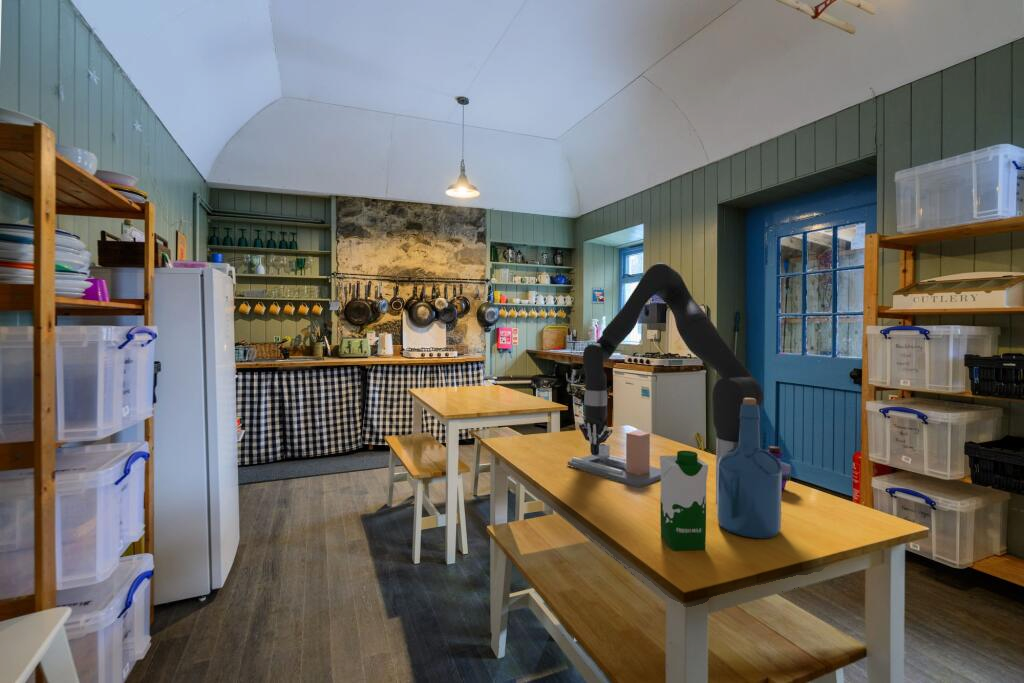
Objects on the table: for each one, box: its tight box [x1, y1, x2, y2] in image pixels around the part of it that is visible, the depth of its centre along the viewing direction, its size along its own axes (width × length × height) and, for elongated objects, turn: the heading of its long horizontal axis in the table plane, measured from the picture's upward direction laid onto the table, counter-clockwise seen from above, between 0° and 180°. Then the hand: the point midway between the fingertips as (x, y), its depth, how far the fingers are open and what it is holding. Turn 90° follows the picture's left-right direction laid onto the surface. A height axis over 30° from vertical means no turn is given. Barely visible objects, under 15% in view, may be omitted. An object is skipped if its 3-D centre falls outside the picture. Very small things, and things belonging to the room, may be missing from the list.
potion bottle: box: [765, 445, 792, 490], centre depth 137 cm, size 9×9×12 cm
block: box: [625, 430, 651, 475], centre depth 148 cm, size 5×5×12 cm
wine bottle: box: [716, 398, 783, 539], centre depth 110 cm, size 14×13×30 cm
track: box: [567, 454, 661, 488], centre depth 154 cm, size 16×28×2 cm, turn 41°
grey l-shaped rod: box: [599, 443, 626, 470], centre depth 154 cm, size 4×12×6 cm, turn 41°
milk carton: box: [659, 450, 709, 551], centre depth 103 cm, size 9×9×20 cm
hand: (594, 454), depth 160 cm, fingers closed
